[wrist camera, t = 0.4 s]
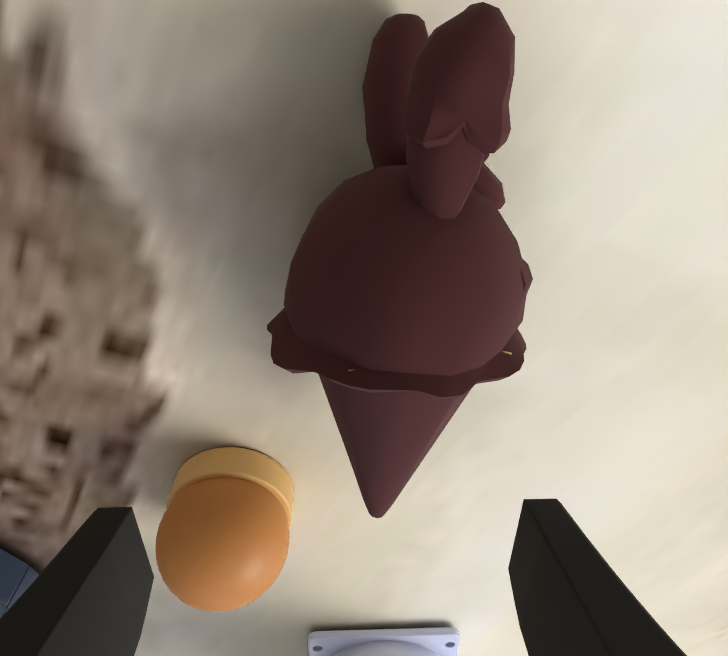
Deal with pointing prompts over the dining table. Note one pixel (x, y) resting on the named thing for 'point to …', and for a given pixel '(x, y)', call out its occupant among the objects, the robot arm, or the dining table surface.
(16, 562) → the bowl
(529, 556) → the robot arm
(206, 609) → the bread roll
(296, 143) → the dining table surface
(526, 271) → the icecream
